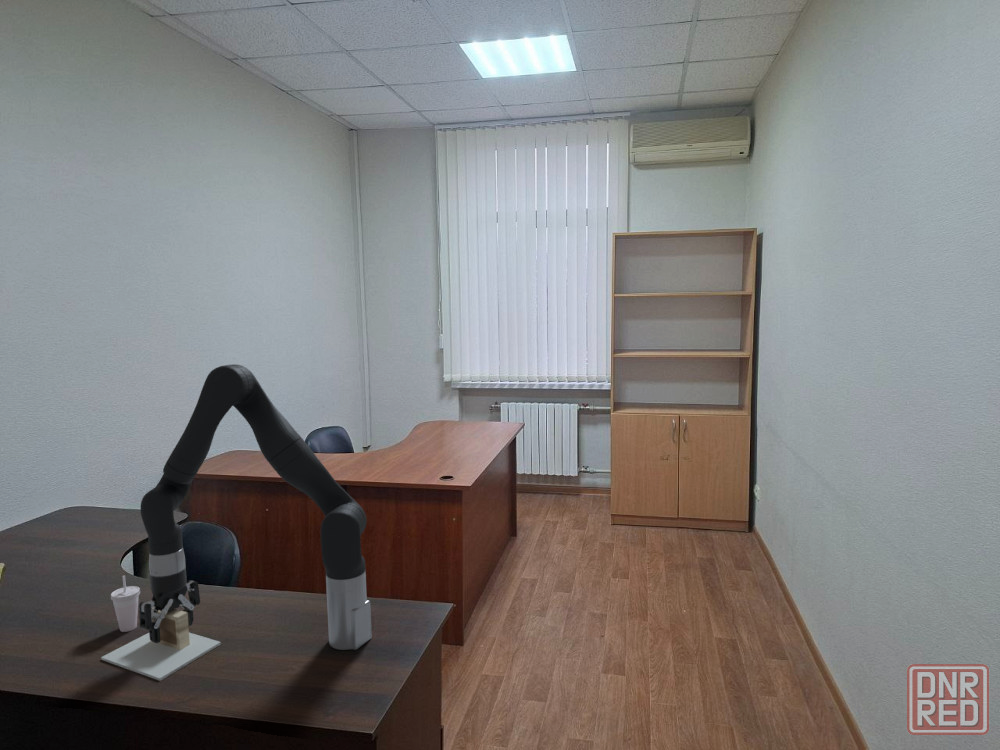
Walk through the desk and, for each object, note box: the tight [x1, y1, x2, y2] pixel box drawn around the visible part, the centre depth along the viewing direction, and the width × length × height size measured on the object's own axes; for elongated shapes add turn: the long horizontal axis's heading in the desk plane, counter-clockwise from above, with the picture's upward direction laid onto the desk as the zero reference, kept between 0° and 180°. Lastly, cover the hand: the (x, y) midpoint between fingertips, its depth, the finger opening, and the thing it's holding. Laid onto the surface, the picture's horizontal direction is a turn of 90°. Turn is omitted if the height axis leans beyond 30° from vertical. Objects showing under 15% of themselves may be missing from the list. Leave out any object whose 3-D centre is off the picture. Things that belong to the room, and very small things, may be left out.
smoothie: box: [110, 574, 141, 633], centre depth 158 cm, size 6×6×14 cm
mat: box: [100, 632, 222, 682], centre depth 147 cm, size 20×16×1 cm
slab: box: [151, 606, 190, 650], centre depth 150 cm, size 10×3×8 cm, turn 66°
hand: (172, 633), depth 150 cm, fingers open, 8 cm apart
